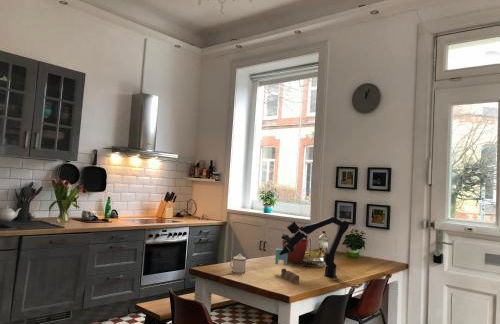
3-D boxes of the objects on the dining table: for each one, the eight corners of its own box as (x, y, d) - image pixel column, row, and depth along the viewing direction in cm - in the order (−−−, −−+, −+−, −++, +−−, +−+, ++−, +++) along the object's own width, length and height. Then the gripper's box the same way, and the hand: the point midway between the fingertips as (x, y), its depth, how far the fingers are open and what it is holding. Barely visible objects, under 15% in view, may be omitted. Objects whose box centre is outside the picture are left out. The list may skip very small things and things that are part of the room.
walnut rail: (281, 276, 263) (281, 268, 263) (284, 276, 264) (284, 268, 264) (295, 284, 245) (295, 276, 245) (298, 284, 245) (299, 276, 246)
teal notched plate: (286, 264, 274) (287, 249, 274) (287, 264, 271) (287, 249, 272) (275, 263, 274) (275, 248, 274) (275, 264, 271) (276, 249, 272)
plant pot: (305, 264, 306) (306, 242, 307) (280, 262, 310) (282, 240, 311) (307, 260, 325) (308, 239, 325) (283, 258, 329) (284, 237, 329)
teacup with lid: (240, 269, 277) (241, 252, 277) (248, 272, 270) (249, 254, 270) (225, 271, 270) (226, 253, 270) (233, 273, 262) (234, 256, 263)
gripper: (287, 228, 283) (270, 243, 282) (289, 231, 264) (272, 247, 264) (297, 240, 283) (281, 255, 282) (301, 244, 264) (283, 260, 263)
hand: (279, 254), depth 273 cm, fingers closed on teal notched plate, 2 cm apart
